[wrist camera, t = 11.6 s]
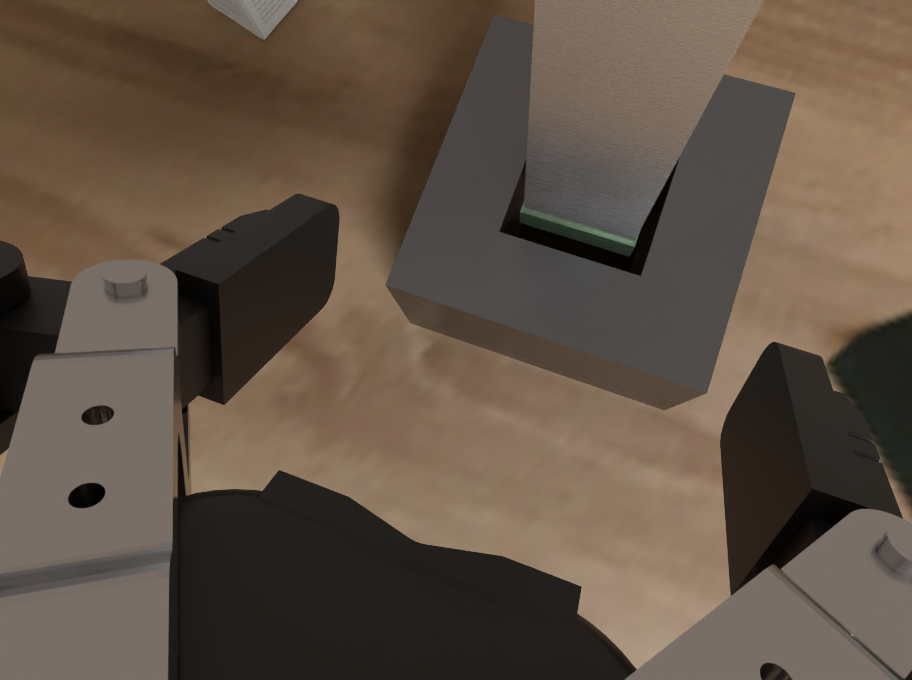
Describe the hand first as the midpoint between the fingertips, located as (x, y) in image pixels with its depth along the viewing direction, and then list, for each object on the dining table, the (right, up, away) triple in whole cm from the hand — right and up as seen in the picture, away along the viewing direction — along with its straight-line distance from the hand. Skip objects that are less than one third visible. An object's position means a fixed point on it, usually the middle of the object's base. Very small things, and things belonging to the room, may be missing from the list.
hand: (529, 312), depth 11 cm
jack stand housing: (+4, +4, +18) cm, 19 cm away
